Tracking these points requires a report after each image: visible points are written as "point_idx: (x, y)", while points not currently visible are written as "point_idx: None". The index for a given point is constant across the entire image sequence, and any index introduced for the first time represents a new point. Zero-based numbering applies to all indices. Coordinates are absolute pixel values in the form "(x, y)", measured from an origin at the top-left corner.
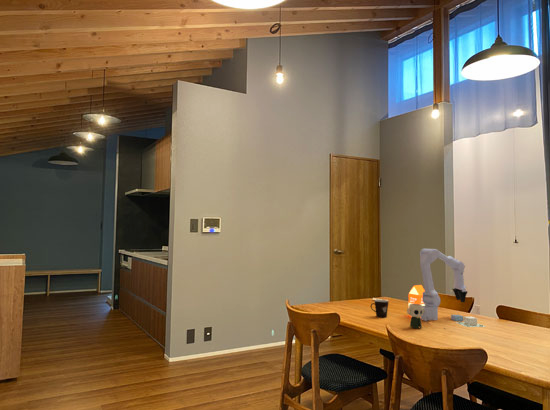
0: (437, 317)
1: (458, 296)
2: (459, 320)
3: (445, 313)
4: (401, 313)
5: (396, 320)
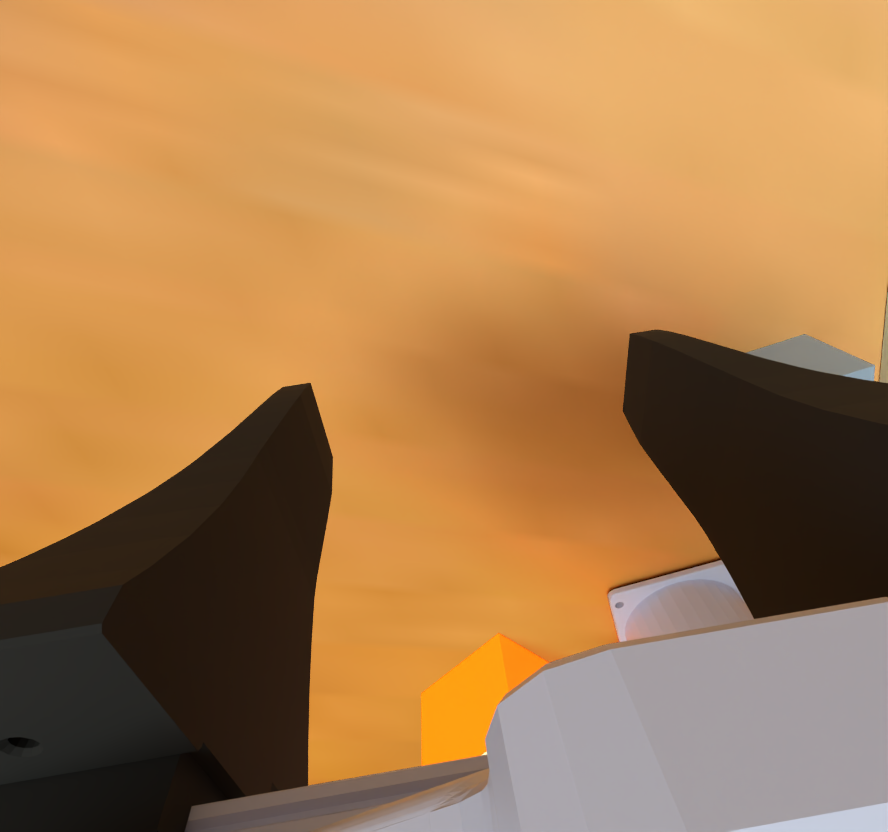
0: (738, 605)
1: (300, 476)
2: None
3: (173, 435)
4: None
5: None
